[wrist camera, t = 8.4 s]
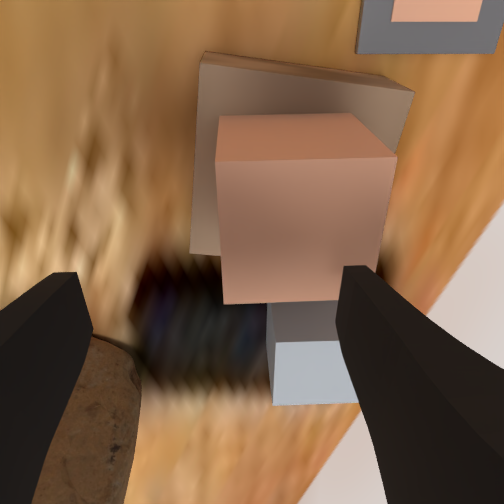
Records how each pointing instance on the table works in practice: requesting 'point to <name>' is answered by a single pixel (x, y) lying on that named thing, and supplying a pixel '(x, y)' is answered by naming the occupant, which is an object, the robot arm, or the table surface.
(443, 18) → the card
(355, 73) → the walnut base
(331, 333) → the grey cube
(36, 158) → the table surface
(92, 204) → the table surface
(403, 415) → the robot arm
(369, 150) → the terracotta cube
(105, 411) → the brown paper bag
